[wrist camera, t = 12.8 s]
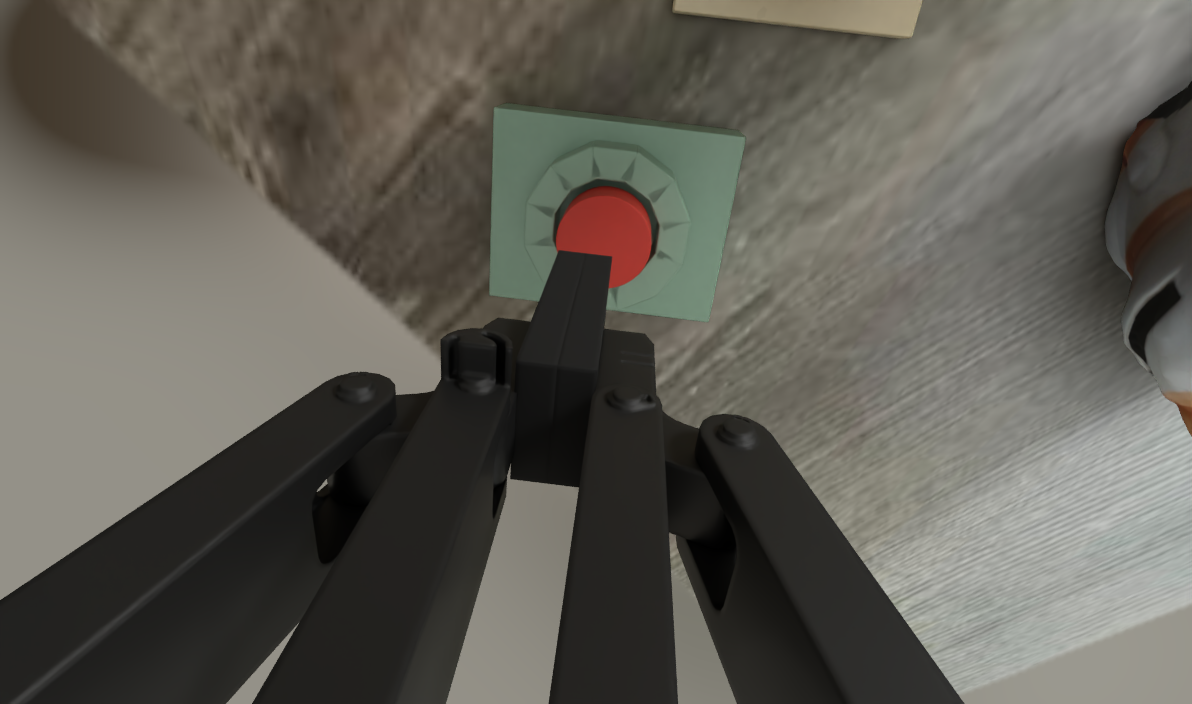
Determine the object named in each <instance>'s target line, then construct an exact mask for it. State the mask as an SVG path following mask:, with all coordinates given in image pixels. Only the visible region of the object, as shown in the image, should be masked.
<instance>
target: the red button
mask: <svg viewBox="0 0 1192 704" xmlns="http://www.w3.org/2000/svg"><path fill="white" fill-rule="evenodd" d="M556 248H557V253H558V251H559V250H563V251H571V252H580V253H588V254H597V255H605V256H612V265H611V273H610V282H609V288H614V287H618V286H621V285H624V284H626V283H628V282H630V281H631V280H633V279H634V278H635V277H636V276H637V275H638V274H639V273H640V272H641V271H642V270H643V268H644V267H645V265H646V263H647V261H648V259H649V256H650V252H651V223H650V219H649V216H648V213H647V211H646V209H645V208H644V206H643V205H642V203H641V202H640V201H639V200H638V199H637V198H636V197H635V196H634V195H632V194H631V193H629V192H627V191H625V190H623V189H620V188H617V187H612V186H599V187H594V188H591V189H588V190H586V191H584V192H582V193H581V194H580V195H578V196H577V197H576V198H575V199H574V200H573V201H572V202H571V203H570V204H569V206H568V208H567V209H566V211H565V213H564V215H563V217H562V219H561V221H560V224H559V226H558V230H557V235H556Z"/></svg>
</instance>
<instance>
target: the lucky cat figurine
mask: <svg viewBox="0 0 1192 704" xmlns="http://www.w3.org/2000/svg"><path fill="white" fill-rule="evenodd" d="M1105 240H1106V246H1107V249H1108V252H1109V254H1110V255H1111V257H1112V259H1113V260H1114V262H1115V264H1116V265H1117V266H1118V267H1119V268H1121V269H1122V270H1123V271H1124V272H1125V273H1126V274H1127V275H1128V276H1129V278H1130V280H1131V281H1132V282H1131V287H1130V292H1129V297H1128V300H1127V302H1126V305H1125V307H1124V310H1123V312H1122V317H1121V324H1122V329H1123V339H1124V343H1125V345H1126V346H1127V347H1128V348H1129V349H1130V350H1131V351H1132V352H1133V354H1134V355H1135V357H1136V359H1137V361H1138V363H1139V364H1140V365H1142V366H1143V367H1144V368H1145V369H1146V370H1147V371H1148V372H1149V373H1150V374H1151V375H1153V376H1154V377H1155V379H1156V381H1157V383H1158V385H1159V387H1160V390H1161V392H1162V394H1163V396H1165V398H1167V399H1168V400H1170V401H1172V402H1174V403H1175V404H1177V406H1178V408H1179V411H1180V414H1181V416H1182V419H1183V421H1184V423H1185V425H1186V427H1187V429H1188V431H1189V433H1190V434H1191V436H1192V81H1191V83H1190V84H1189V86H1188V88H1186V89H1185V90H1183V91H1181V92H1180V93H1178V94H1177V95H1175V96H1174V97H1172V98H1171V99H1169V100H1167V101H1166V102H1164V103H1163V104H1161V105H1160V106H1159V107H1158V108H1156V109H1155V110H1154V111H1153V112H1152V113H1151V114H1150V115H1149V116H1147V117H1146V118H1144V119H1142V120H1141V121H1139V123H1138V124H1137V128H1136V129H1135V131H1134V132H1133V134H1132V135H1131V137H1130V138H1129V139H1128V141H1127V142H1126V145H1125V148H1124V152H1123V161H1122V167H1121V171H1120V175H1119V178H1118V182H1117V186H1116V189H1115V192H1114V195H1113V198H1112V200H1111V203H1110V205H1109V208H1108V211H1107V216H1106V221H1105Z"/></svg>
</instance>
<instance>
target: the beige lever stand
mask: <svg viewBox="0 0 1192 704" xmlns="http://www.w3.org/2000/svg"><path fill="white" fill-rule="evenodd" d="M922 2H923V0H673V7H672V12H673V13H677V14H685V15H694V16H703V17H712V18H721V19H729V20H738V21H747V22H756V23H765V24H773V25H782V26H791V27H800V28H809V29H817V30H826V31H835V32H844V33H853V34H861V35H870V36H879V37H888V38H897V39H907V38H911V37H912V35H913V32H914V28H915V25H916V22H917V18H918V15H919V12H920V8H921V5H922Z"/></svg>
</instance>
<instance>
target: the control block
mask: <svg viewBox="0 0 1192 704" xmlns="http://www.w3.org/2000/svg"><path fill="white" fill-rule="evenodd" d="M745 141H746V137H745V136H744V135H743V134H742V133H741V132H740V131H739V130H733V129H724V128H716V127H707V126H699V125H690V124H682V123H673V122H665V121H656V120H648V119H639V118H630V117H622V116H613V115H605V114H596V113H588V112H579V111H571V110H562V109H554V108H545V107H537V106H528V105H520V104H511V103H504V104H502V105H499V106H497V107H494V116H493V157H492V199H491V240H490V282H489V295H491V296H499V297H507V298H515V299H523V300H532V301H539V300H540V297H541V295H542V292H543V289H544V287H545V284H546V282H547V279H548V277H549V274H550V271H551V269H552V266H553V264H554V261H555V259H556V256H557V248H556V235H557V230H558V226H559V224H560V221H561V219H562V217H563V215H564V213H565V211H566V209H567V208H568V206H569V204H570V203H571V202H572V201H573V200H574V199H575V198H576V197H577V196H578V195H580V194H581V193H582V192H584V191H586V190H588V189H591V188H594V187H599V186H612V187H617V188H620V189H623V190H625V191H627V192H629V193H631V194H632V195H634V196H635V197H636V198H637V199H638V200H639V201H640V202H641V203H642V205H643V206H644V208H645V209H646V211H647V213H648V216H649V219H650V223H651V252H650V256H649V259H648V261H647V263H646V265H645V267H644V268H643V270H642V271H641V272H640V273H639V274H638V275H637V276H636V277H635V278H634V279H633V280H631V281H630V282H628V283H626V284H624V285H621V286H618V287H614V288H609V290H608V298H607V307H606V310H612V311H620V312H628V313H637V314H645V315H653V316H661V317H669V318H677V319H685V320H693V321H701V322H709V317H710V313H711V308H712V303H713V298H714V293H715V288H716V283H717V278H718V273H719V268H720V264H721V259H722V254H723V249H724V244H725V239H726V234H727V229H728V224H729V219H730V215H731V210H732V205H733V200H734V195H735V190H736V185H737V180H738V175H739V170H740V166H741V161H742V156H743V151H744V146H745Z"/></svg>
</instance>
